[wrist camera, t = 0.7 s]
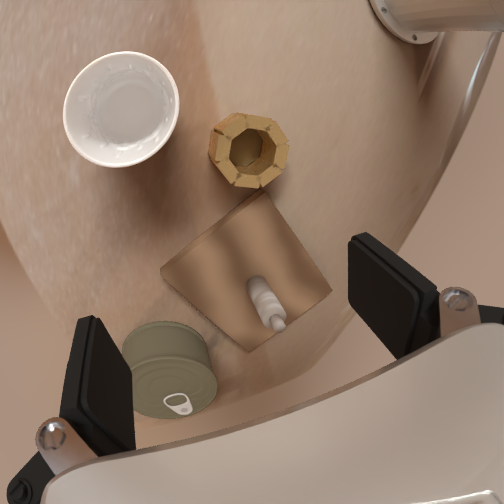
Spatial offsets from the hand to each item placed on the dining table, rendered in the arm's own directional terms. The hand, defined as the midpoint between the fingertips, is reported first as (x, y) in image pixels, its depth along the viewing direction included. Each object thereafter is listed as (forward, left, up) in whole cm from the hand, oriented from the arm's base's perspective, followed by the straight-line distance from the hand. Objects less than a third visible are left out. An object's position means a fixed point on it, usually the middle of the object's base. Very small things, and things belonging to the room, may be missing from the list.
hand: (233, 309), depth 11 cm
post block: (+2, +15, -23) cm, 27 cm away
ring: (-6, +2, -23) cm, 23 cm away
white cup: (0, -8, -23) cm, 24 cm away
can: (+18, +17, -23) cm, 33 cm away
